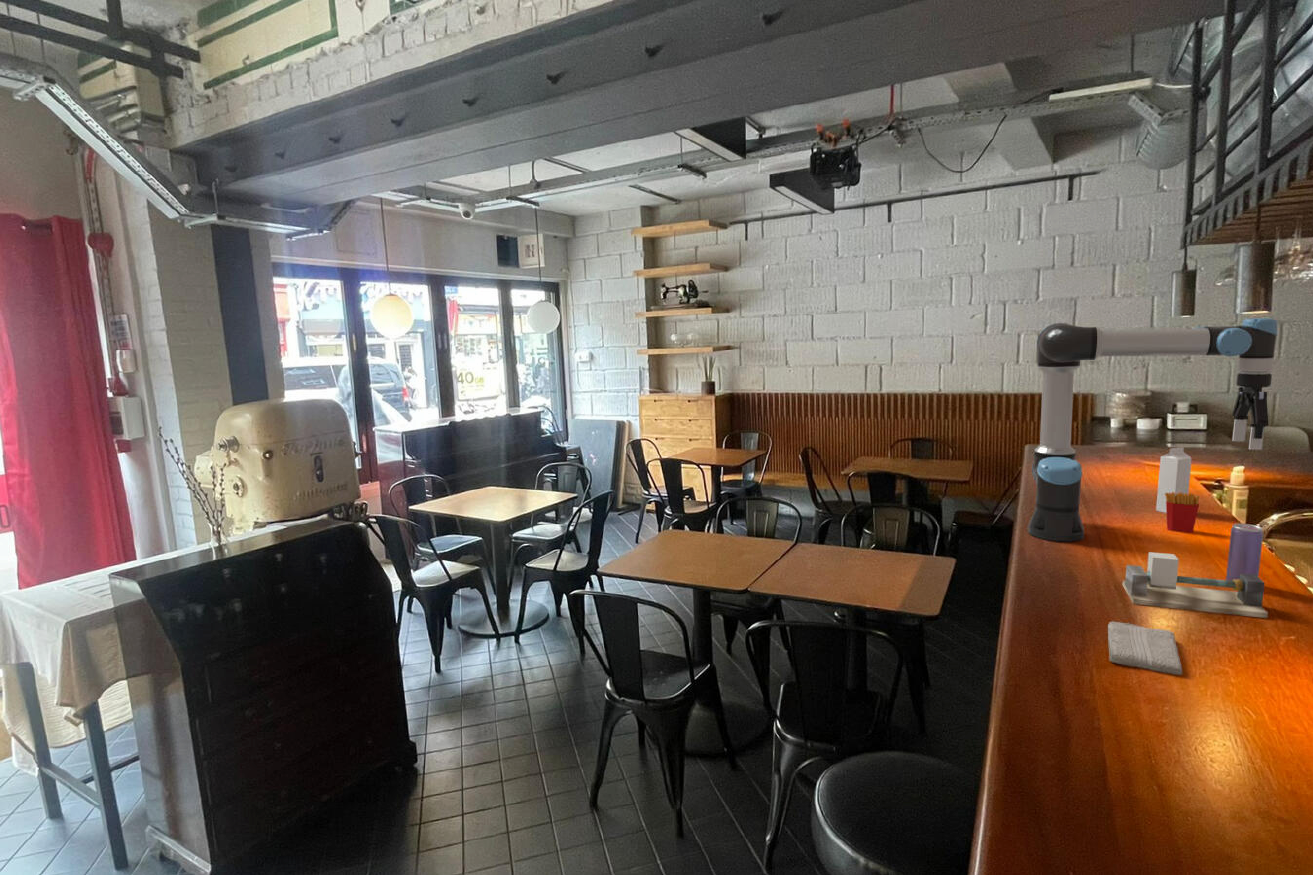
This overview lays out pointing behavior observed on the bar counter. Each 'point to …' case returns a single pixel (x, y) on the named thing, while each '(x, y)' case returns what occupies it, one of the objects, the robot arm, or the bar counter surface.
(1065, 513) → the robot arm
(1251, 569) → the beverage can
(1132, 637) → the washcloth
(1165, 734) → the bar counter surface
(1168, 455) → the milk
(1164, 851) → the bar counter surface
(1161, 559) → the light grey cube
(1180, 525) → the french fries
